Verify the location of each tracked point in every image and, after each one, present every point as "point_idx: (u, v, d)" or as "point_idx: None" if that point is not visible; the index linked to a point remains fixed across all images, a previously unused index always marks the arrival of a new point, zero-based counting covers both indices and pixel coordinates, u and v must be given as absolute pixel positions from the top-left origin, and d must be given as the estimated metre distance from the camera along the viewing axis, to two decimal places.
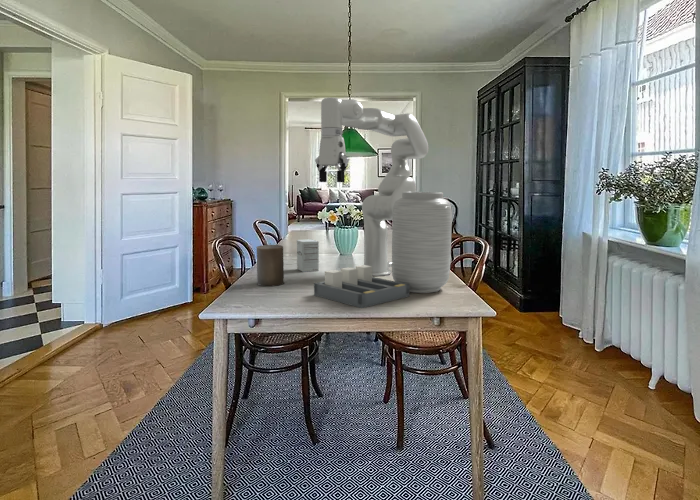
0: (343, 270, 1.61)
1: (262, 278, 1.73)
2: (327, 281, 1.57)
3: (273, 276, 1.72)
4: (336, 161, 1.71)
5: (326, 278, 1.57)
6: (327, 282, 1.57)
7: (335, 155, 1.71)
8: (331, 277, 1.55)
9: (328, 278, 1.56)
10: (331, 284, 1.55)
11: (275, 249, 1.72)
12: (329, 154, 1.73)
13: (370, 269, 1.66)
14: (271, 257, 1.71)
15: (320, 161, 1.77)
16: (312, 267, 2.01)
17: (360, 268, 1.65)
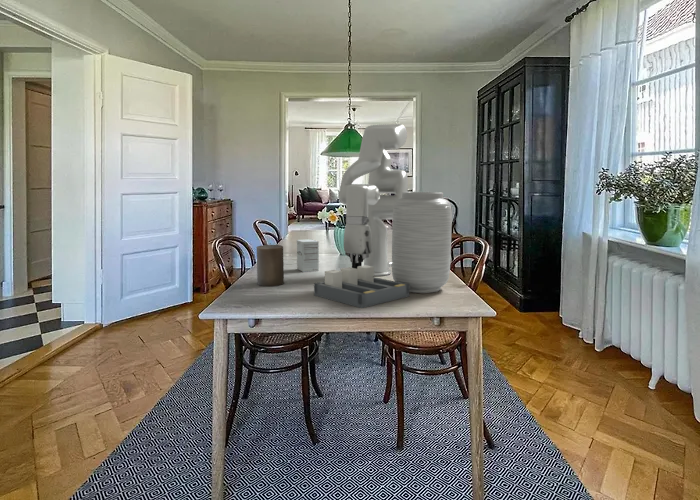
0: (343, 270, 1.61)
1: (262, 278, 1.73)
2: (327, 281, 1.57)
3: (273, 276, 1.72)
4: (362, 251, 1.64)
5: (326, 278, 1.57)
6: (327, 282, 1.57)
7: (361, 245, 1.64)
8: (331, 277, 1.55)
9: (328, 278, 1.56)
10: (331, 284, 1.55)
11: (275, 249, 1.72)
12: (355, 243, 1.66)
13: (372, 269, 1.66)
14: (271, 257, 1.71)
15: (345, 248, 1.70)
16: (312, 267, 2.01)
17: (362, 268, 1.65)
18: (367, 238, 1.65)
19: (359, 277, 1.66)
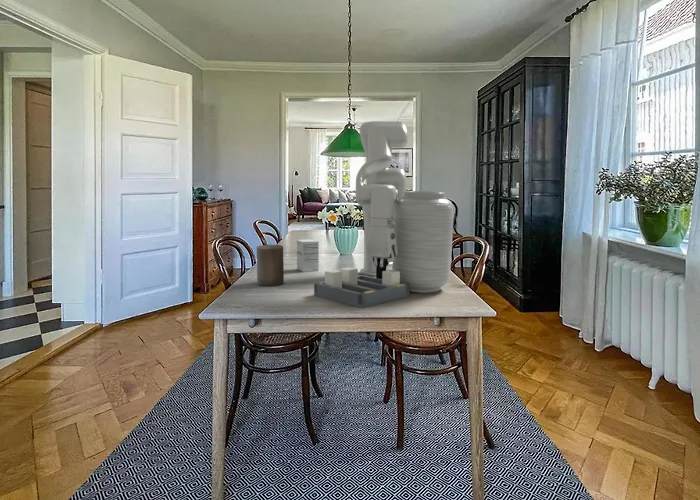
0: (343, 270, 1.61)
1: (262, 278, 1.73)
2: (327, 281, 1.57)
3: (273, 276, 1.72)
4: (388, 255, 1.56)
5: (326, 278, 1.57)
6: (327, 282, 1.57)
7: (387, 248, 1.55)
8: (331, 277, 1.55)
9: (328, 278, 1.56)
10: (331, 284, 1.55)
11: (275, 249, 1.72)
12: (380, 246, 1.57)
13: (398, 274, 1.58)
14: (271, 257, 1.71)
15: (368, 251, 1.61)
16: (312, 267, 2.01)
17: (387, 273, 1.56)
18: (393, 241, 1.56)
19: (384, 282, 1.58)
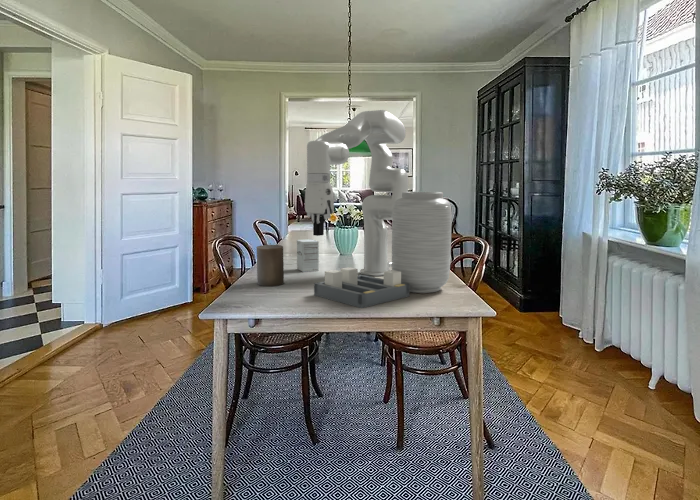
0: (343, 270, 1.61)
1: (262, 278, 1.73)
2: (327, 281, 1.57)
3: (273, 276, 1.72)
4: (323, 210, 1.56)
5: (326, 278, 1.57)
6: (327, 282, 1.57)
7: (322, 204, 1.55)
8: (331, 277, 1.55)
9: (328, 278, 1.56)
10: (331, 284, 1.55)
11: (275, 249, 1.72)
12: (316, 202, 1.57)
13: (399, 274, 1.57)
14: (271, 257, 1.71)
15: (306, 208, 1.61)
16: (312, 267, 2.01)
17: (389, 273, 1.56)
18: (328, 197, 1.56)
19: (386, 283, 1.57)
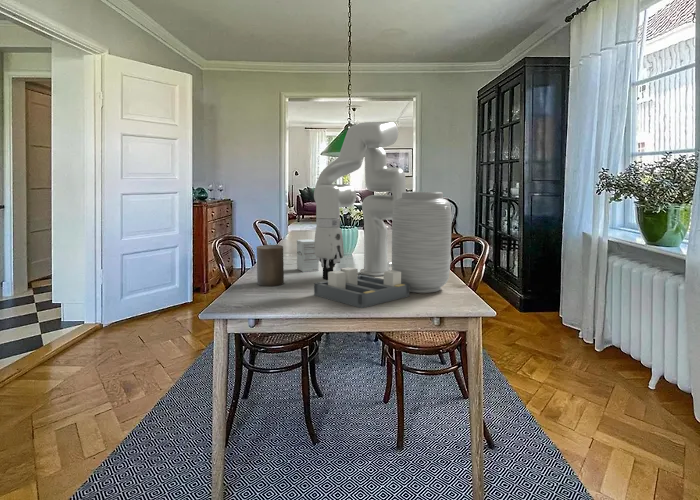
0: (343, 270, 1.61)
1: (262, 278, 1.73)
2: (330, 282, 1.56)
3: (273, 276, 1.72)
4: (333, 256, 1.54)
5: (329, 279, 1.56)
6: (330, 282, 1.56)
7: (332, 249, 1.54)
8: (335, 278, 1.54)
9: (332, 279, 1.55)
10: (335, 285, 1.54)
11: (275, 249, 1.72)
12: (325, 247, 1.55)
13: (399, 274, 1.57)
14: (271, 257, 1.71)
15: (315, 252, 1.60)
16: (312, 267, 2.01)
17: (389, 273, 1.56)
18: (338, 242, 1.54)
19: (386, 283, 1.57)
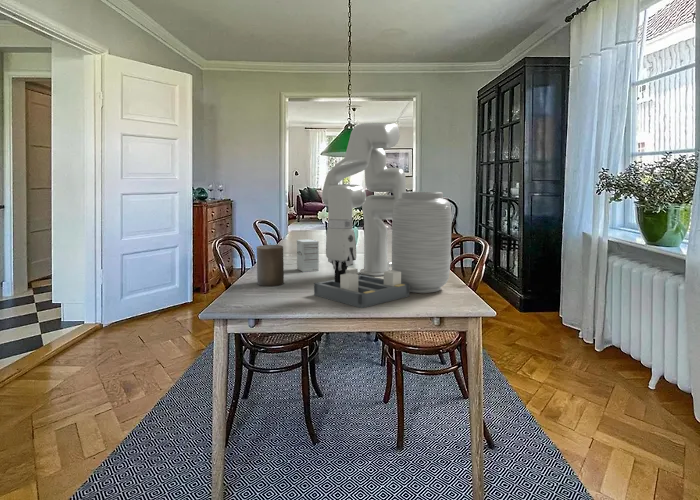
0: None
1: (262, 278, 1.73)
2: (343, 285, 1.52)
3: (273, 276, 1.72)
4: (345, 258, 1.50)
5: (342, 282, 1.52)
6: (343, 285, 1.52)
7: (344, 251, 1.49)
8: (348, 280, 1.50)
9: (344, 282, 1.51)
10: (348, 288, 1.50)
11: (275, 249, 1.72)
12: (337, 249, 1.51)
13: (399, 274, 1.57)
14: (271, 257, 1.71)
15: (327, 254, 1.56)
16: (312, 267, 2.01)
17: (389, 273, 1.56)
18: (351, 243, 1.50)
19: (386, 283, 1.57)
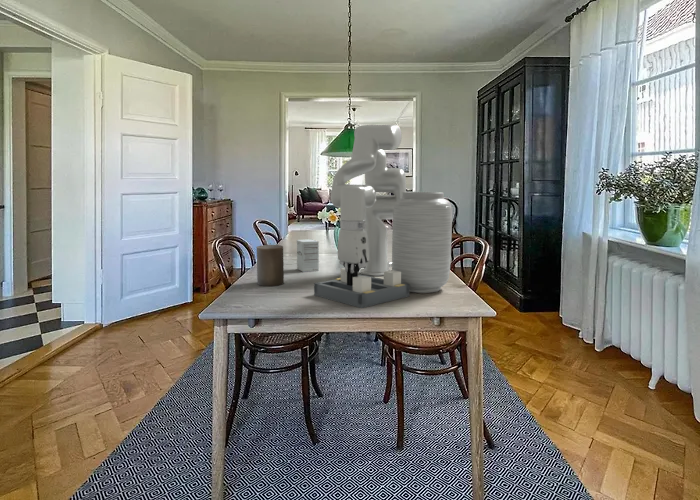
0: (343, 270, 1.61)
1: (262, 278, 1.73)
2: (355, 288, 1.48)
3: (273, 276, 1.72)
4: (358, 260, 1.46)
5: (354, 284, 1.48)
6: (355, 288, 1.48)
7: (357, 253, 1.45)
8: (360, 283, 1.46)
9: (357, 285, 1.47)
10: (360, 291, 1.46)
11: (275, 249, 1.72)
12: (350, 251, 1.47)
13: (399, 274, 1.57)
14: (271, 257, 1.71)
15: (339, 256, 1.52)
16: (312, 267, 2.01)
17: (389, 273, 1.56)
18: (364, 245, 1.46)
19: (386, 283, 1.57)
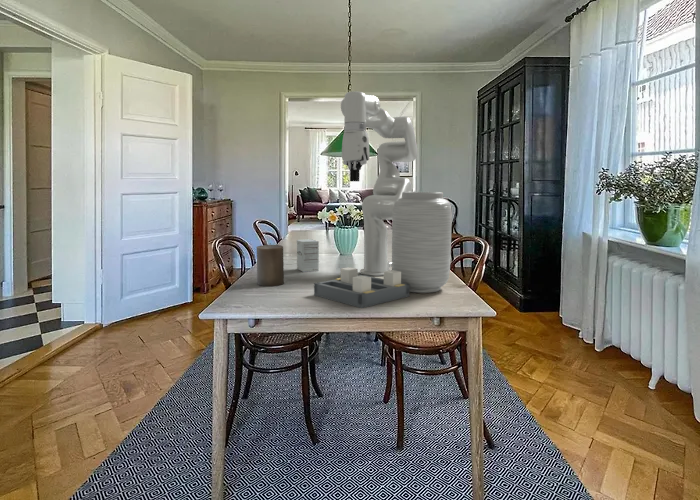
0: (343, 270, 1.61)
1: (262, 278, 1.73)
2: (355, 288, 1.48)
3: (273, 276, 1.72)
4: (360, 156, 1.68)
5: (354, 284, 1.48)
6: (355, 288, 1.48)
7: (359, 150, 1.67)
8: (360, 283, 1.46)
9: (357, 285, 1.47)
10: (360, 291, 1.46)
11: (275, 249, 1.72)
12: (353, 149, 1.69)
13: (399, 274, 1.57)
14: (271, 257, 1.71)
15: (343, 156, 1.74)
16: (312, 267, 2.01)
17: (389, 273, 1.56)
18: (365, 144, 1.68)
19: (386, 283, 1.57)
